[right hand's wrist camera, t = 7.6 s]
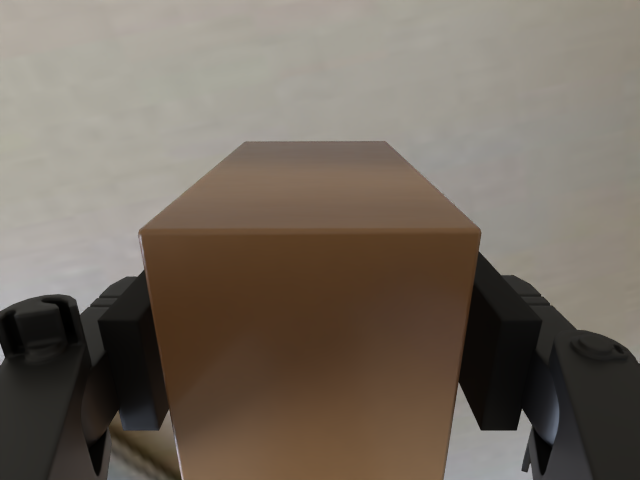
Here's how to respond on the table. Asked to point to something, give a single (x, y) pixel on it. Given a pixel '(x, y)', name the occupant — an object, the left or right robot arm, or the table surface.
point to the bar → (311, 314)
